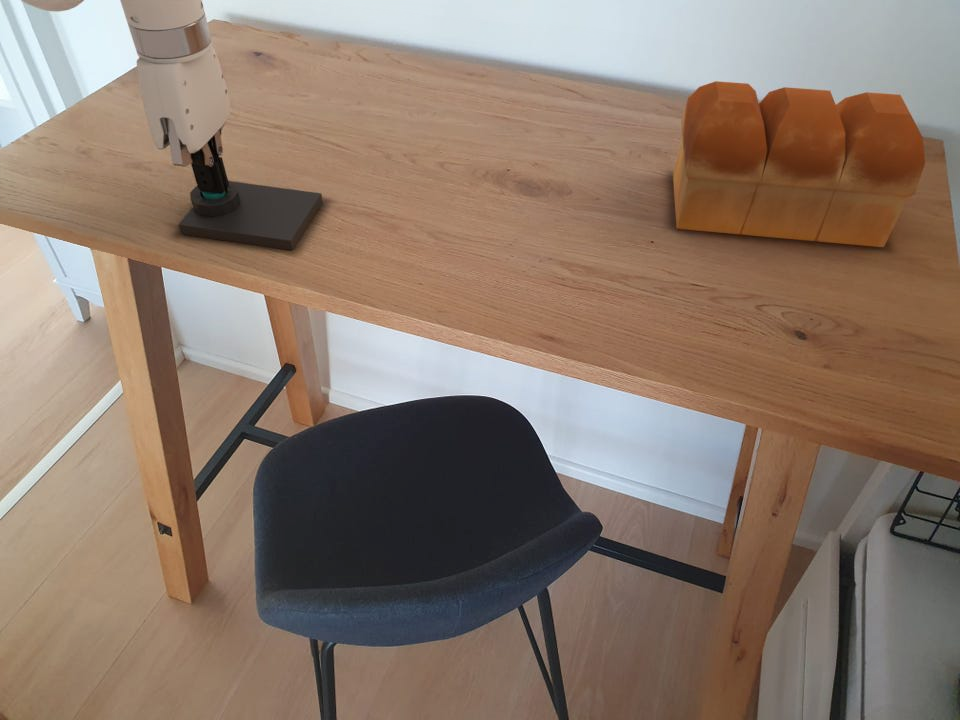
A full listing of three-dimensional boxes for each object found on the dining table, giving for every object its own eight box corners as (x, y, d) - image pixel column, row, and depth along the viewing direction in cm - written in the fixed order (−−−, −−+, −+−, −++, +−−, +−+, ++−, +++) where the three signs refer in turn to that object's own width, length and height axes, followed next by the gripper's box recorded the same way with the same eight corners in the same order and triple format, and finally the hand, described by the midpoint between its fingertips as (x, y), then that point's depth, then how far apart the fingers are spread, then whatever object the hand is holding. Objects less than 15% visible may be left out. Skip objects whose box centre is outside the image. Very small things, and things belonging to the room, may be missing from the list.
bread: (673, 229, 92) (699, 115, 82) (669, 174, 101) (693, 64, 90) (888, 249, 90) (943, 134, 79) (865, 190, 99) (913, 80, 88)
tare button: (201, 204, 92) (197, 193, 91) (211, 193, 93) (207, 182, 92) (221, 207, 91) (218, 196, 90) (230, 195, 93) (228, 184, 92)
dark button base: (179, 233, 91) (172, 212, 89) (217, 188, 98) (211, 167, 95) (292, 250, 89) (288, 229, 86) (323, 202, 96) (319, 181, 93)
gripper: (173, 3, 84) (213, 153, 97) (97, 62, 74) (154, 220, 87) (236, 10, 83) (269, 160, 96) (169, 69, 73) (215, 229, 86)
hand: (214, 188), depth 91 cm, fingers closed
